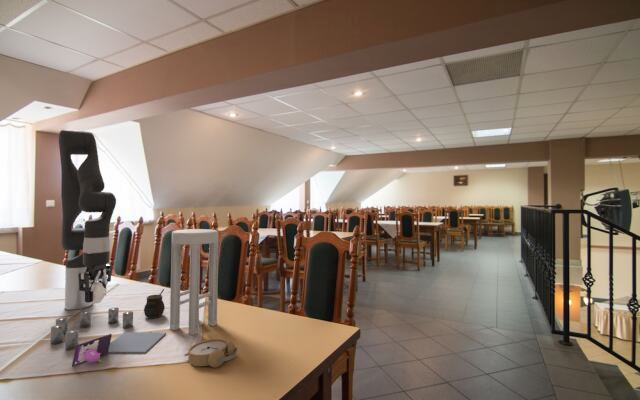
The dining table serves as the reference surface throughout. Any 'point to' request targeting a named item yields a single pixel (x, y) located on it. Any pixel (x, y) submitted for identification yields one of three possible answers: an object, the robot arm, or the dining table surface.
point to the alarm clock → (211, 352)
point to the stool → (193, 277)
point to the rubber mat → (134, 342)
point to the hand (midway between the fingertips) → (95, 298)
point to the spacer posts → (85, 321)
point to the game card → (92, 350)
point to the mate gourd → (154, 306)
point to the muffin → (98, 293)
